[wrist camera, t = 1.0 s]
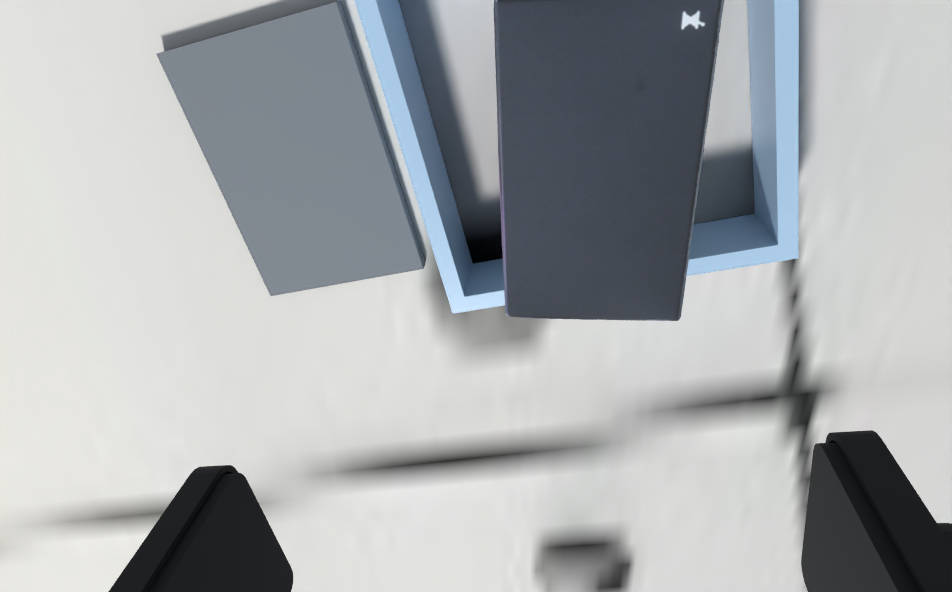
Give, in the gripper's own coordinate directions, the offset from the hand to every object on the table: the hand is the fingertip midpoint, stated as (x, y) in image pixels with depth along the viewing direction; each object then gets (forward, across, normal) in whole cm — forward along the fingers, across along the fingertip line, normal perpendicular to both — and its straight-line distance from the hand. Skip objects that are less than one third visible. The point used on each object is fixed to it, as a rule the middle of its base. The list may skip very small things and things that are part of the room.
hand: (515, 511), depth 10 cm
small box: (+22, -2, -2) cm, 22 cm away
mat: (+21, +12, -1) cm, 24 cm away
